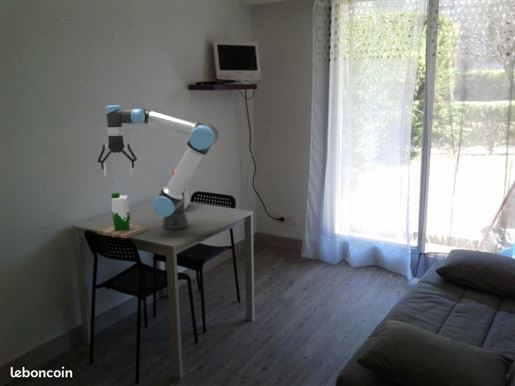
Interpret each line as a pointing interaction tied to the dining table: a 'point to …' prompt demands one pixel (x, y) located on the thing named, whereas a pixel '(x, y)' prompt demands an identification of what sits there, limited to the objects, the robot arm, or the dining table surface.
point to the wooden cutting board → (122, 231)
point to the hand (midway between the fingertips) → (118, 174)
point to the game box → (185, 194)
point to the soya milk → (120, 212)
